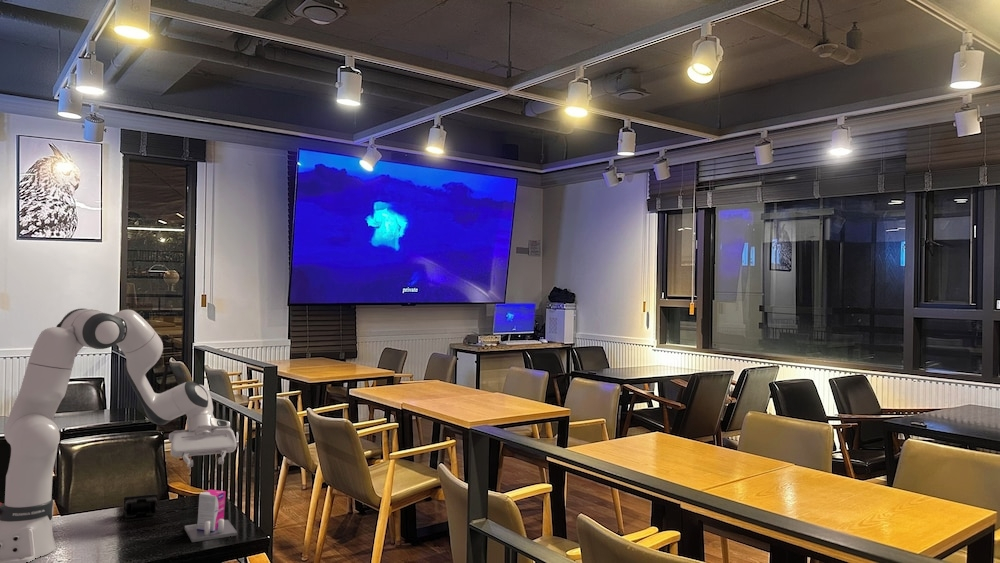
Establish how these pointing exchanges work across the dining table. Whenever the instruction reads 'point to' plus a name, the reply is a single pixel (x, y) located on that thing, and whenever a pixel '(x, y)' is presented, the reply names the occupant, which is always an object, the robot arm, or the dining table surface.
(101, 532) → the dining table surface
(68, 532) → the dining table surface
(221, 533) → the pin tray
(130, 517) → the end cap
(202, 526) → the supplement box
